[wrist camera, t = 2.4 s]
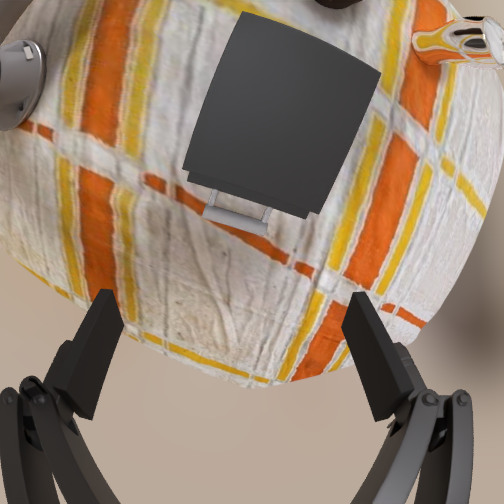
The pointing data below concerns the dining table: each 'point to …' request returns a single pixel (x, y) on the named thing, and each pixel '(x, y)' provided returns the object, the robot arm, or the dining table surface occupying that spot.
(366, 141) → the dining table surface
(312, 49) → the small dark drawer box
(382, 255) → the dining table surface
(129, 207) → the dining table surface
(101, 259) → the dining table surface
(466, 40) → the beer glass
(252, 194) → the black drawer
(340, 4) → the coffee mug
